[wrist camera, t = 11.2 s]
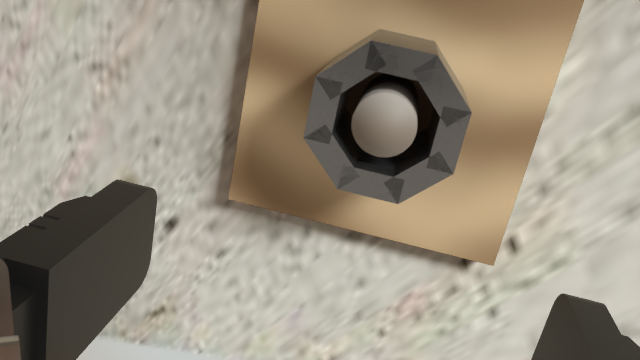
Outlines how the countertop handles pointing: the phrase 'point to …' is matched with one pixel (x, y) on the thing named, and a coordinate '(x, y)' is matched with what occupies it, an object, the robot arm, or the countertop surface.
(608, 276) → the countertop surface
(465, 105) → the ring
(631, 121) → the countertop surface
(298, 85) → the shaft stand
